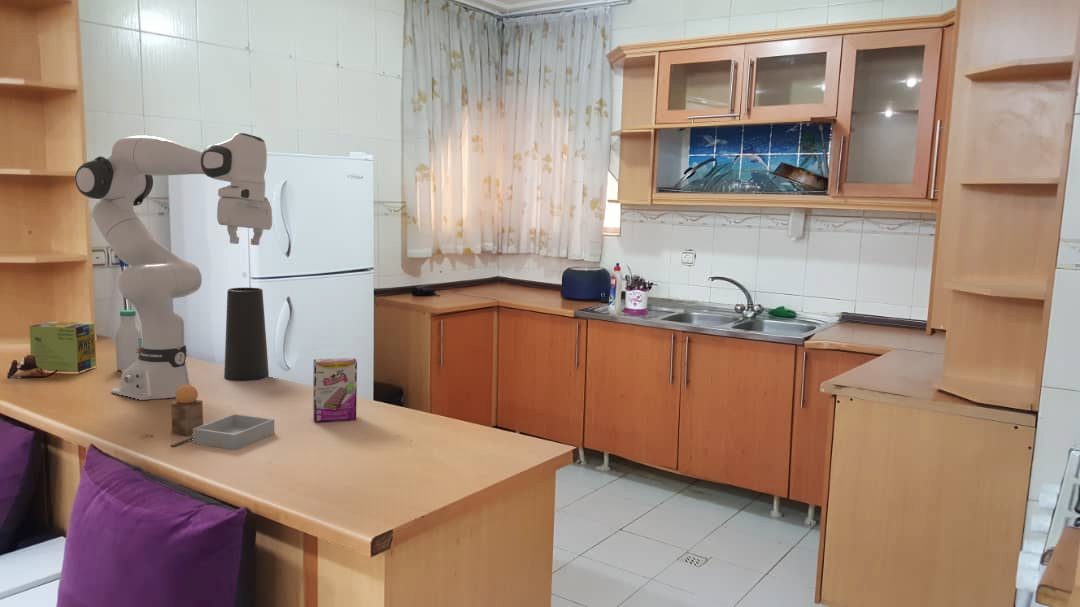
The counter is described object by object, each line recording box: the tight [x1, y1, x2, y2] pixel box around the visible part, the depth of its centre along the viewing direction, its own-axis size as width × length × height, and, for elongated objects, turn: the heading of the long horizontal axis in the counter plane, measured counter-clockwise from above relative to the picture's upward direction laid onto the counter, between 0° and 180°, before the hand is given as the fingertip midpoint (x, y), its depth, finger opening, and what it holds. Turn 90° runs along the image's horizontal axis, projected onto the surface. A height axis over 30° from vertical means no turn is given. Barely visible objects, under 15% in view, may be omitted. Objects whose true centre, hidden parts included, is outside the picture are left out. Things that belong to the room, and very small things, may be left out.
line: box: [170, 436, 193, 447], centre depth 188 cm, size 1×22×1 cm, turn 161°
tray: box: [192, 413, 275, 451], centre depth 185 cm, size 12×14×4 cm
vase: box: [223, 287, 270, 382], centre depth 247 cm, size 14×14×29 cm
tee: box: [170, 399, 204, 437], centre depth 188 cm, size 5×5×8 cm
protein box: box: [29, 321, 97, 372], centre depth 248 cm, size 10×15×16 cm
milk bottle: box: [115, 309, 143, 371], centre depth 252 cm, size 8×8×20 cm
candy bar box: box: [312, 357, 358, 423], centre depth 203 cm, size 11×5×16 cm, turn 110°
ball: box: [175, 384, 199, 404], centre depth 188 cm, size 5×5×5 cm
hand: (244, 244), depth 207 cm, fingers open, 8 cm apart
